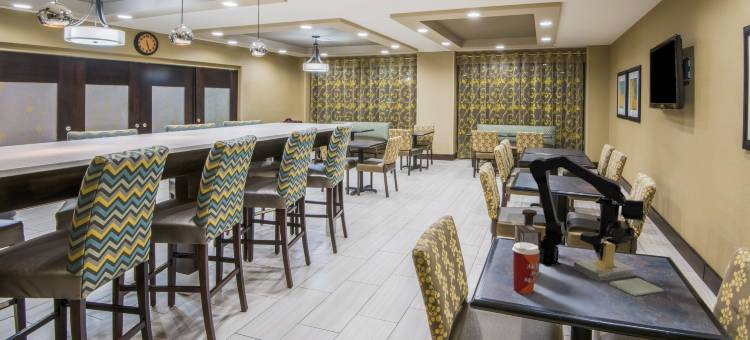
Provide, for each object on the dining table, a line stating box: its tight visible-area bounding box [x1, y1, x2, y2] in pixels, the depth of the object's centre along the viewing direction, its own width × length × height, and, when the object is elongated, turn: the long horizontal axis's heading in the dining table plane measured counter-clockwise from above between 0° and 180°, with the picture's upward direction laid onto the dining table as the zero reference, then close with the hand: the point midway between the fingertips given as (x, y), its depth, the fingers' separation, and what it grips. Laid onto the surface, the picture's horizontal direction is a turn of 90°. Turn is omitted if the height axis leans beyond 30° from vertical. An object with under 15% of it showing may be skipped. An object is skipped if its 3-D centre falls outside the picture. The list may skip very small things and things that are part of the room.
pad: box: [609, 277, 664, 297], centre depth 158 cm, size 12×10×1 cm
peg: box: [595, 240, 616, 269], centre depth 170 cm, size 4×4×10 cm
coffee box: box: [513, 224, 542, 278], centre depth 169 cm, size 9×6×16 cm
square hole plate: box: [573, 258, 637, 282], centre depth 171 cm, size 16×12×2 cm
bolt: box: [521, 208, 537, 227], centre depth 197 cm, size 6×5×15 cm
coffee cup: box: [511, 242, 540, 295], centre depth 154 cm, size 8×8×15 cm
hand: (605, 259), depth 170 cm, fingers closed on peg, 4 cm apart
